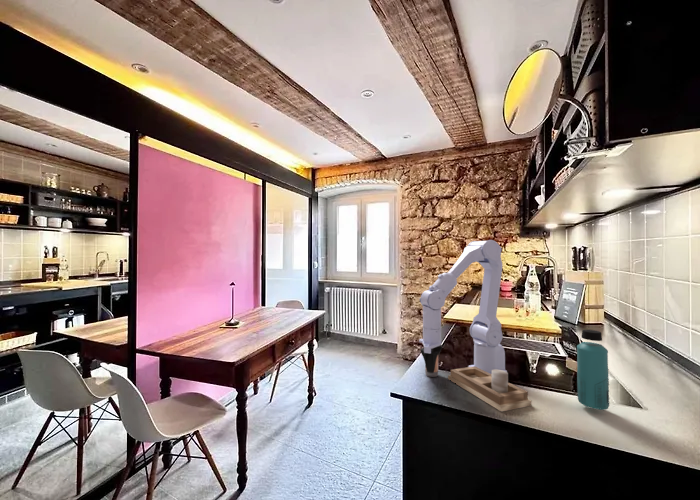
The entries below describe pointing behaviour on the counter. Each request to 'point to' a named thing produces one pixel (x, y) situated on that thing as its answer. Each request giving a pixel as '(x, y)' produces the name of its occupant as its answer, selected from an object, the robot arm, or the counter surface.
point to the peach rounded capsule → (434, 370)
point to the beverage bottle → (592, 372)
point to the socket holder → (491, 387)
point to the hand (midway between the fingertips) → (431, 369)
